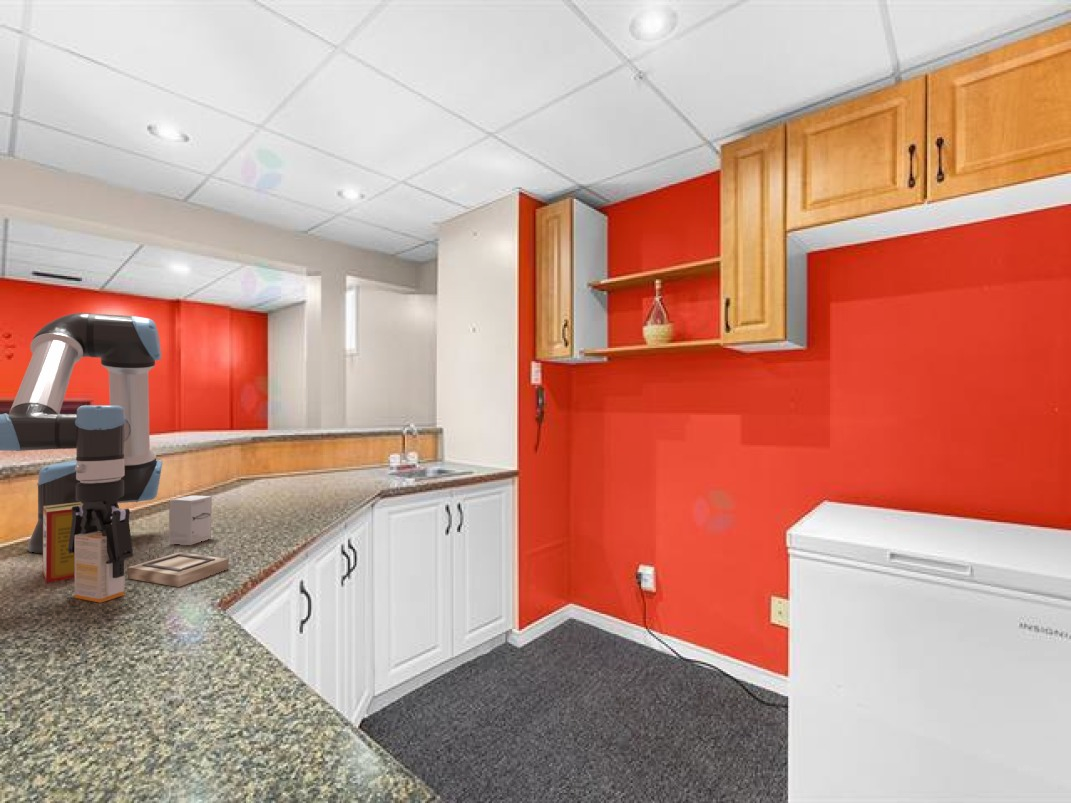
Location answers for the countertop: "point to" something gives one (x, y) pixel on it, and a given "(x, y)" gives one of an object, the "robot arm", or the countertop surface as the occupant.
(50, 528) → the baking soda box
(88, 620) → the countertop surface
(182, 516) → the supplement box
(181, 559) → the seat pad
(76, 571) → the supplement box
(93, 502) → the robot arm
